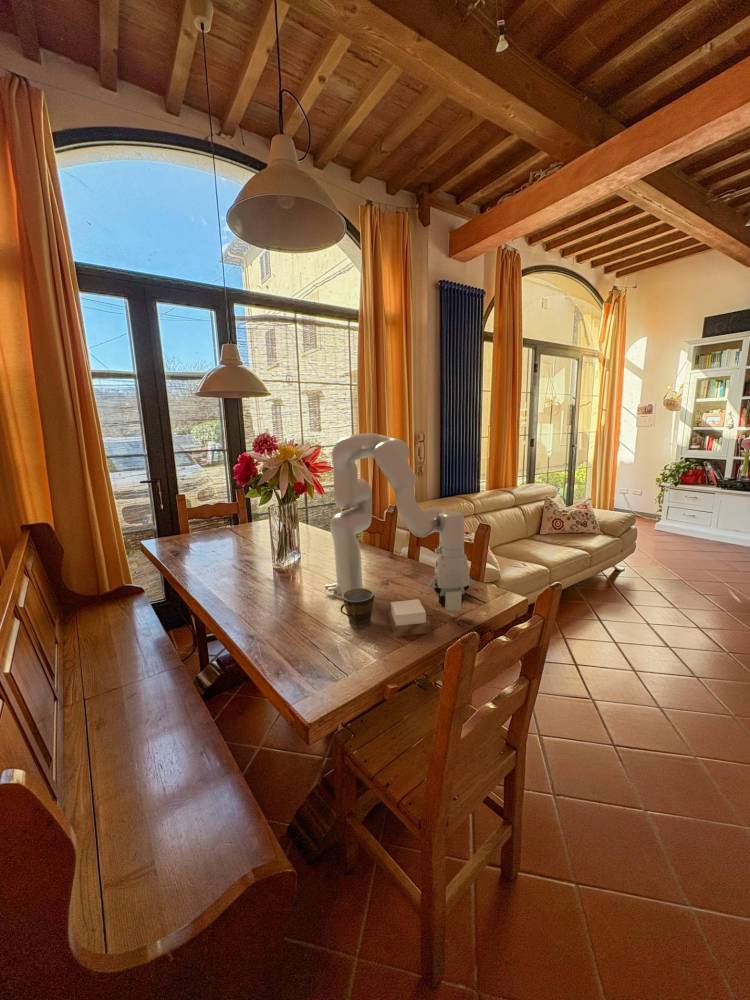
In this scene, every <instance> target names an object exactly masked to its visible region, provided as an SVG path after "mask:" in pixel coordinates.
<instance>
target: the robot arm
mask: <svg viewBox="0 0 750 1000" xmlns="http://www.w3.org/2000/svg"><path fill="white" fill-rule="evenodd" d="M331 452H332V458H331V459H332V464H333V501H334V503H335V505H336V506H337V507H338V508H340V509H344V510H342V511H340V512H338V513H336V514H334V515H333V516H332V518H331V519H330V523H329V530H330V534H331V537H332V540H333V547H334V548H333V549H334V561H335V573H336V580H335V582H334V583H332V584H330V583H329V584H328V583H327V584H324V589H325V591H327V590H328V592H333V596H334V597H335V598H337V599H338V600H342V601H343V597H342V595H343V594H344V593H345V592H346V591H348V590H351V589H356V588H365V589H368V588H367V586H365V585H364V584H363V571H362V557H361V554H362V553H361V545H360V542H359V540H358V538H357V534H359V533H362V532H364V531H365V530H367V529H368V528H369V527H370V526H371V524H372V519H373V518H372V516H373V514H372V513H373V491H372V488H371V485H370V484H369V482H368V481H366V479H364V478H358V477H359V473H358V467H357V464H356V462H355V461H358V460H362V459H368V458H373V459H374V461H375V462H376V464H377V466H378V467H379V469H380V470H381V472H382V474H383V475H384V476H385V478H386V479H387V481H388V483H389V484H390V486H391V487H392V490H393V491H394V501H395V504H396V509H397V513H398V514H399V516H400V518H401V520H402V522H403V523H404V525H405V527H406V528H407V530H409V532H410V533H412V535H414V536H415V537H419V538H425V537H428V536H429V535H431V534H433V533H435V532H439V544H438V547H437V548H435V549H434V552H435V554H437V557H436V560H435V565H434V566H435V567H434V576H433V577H432V579H431V580H430V581H429V583H428V587H429V588H430V589H432V590H433V591H434V592H436V593H437V594H438V604H439V605H440V606H441V607H442V608H443V609H445V596H444V592H445V589H446V588H459V589H460V590H461V591H462V595H461V607H463V603H464V598H465V597H464V596H465V594H466V591H468V589H469V588H470V587H471V586H472V585H473V584H475V581H474V580H473V579H472V577H471V576H470V571H469V570H470V569H469V561H468V557H467V554H465V516H464V514H463V513H462V512H461V511H460V512H459V511H456V510H455V511H454V510H445V509H441V508H439V507H428V508H426V509H424V510H423V509H422V508H421V507H420V506H419V504H418V502H417V500H416V497H415V487H416V486H415V485H416V483H417V480H418V479H417V478H418V477H417V475H416V473H415V472H414V470H413V469H412V467H411V466H410V465H409V463H408V462H407V461H408V459H409V458H410V453H411V452H410V448H409V445H408V444H407V442H405V441H404V440H402V439H399V438H395V437H391V436H387V435H382V434H379V433H372V432H368V433H367V432H366V433H355V434H349V435H346V436H343V437H342V438H340V439H338V440H337V441H336V443H334V446H333V448H332V451H331ZM345 509H346V510H345ZM436 583H437V585H438V587H437V586H435V584H436Z"/></svg>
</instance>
